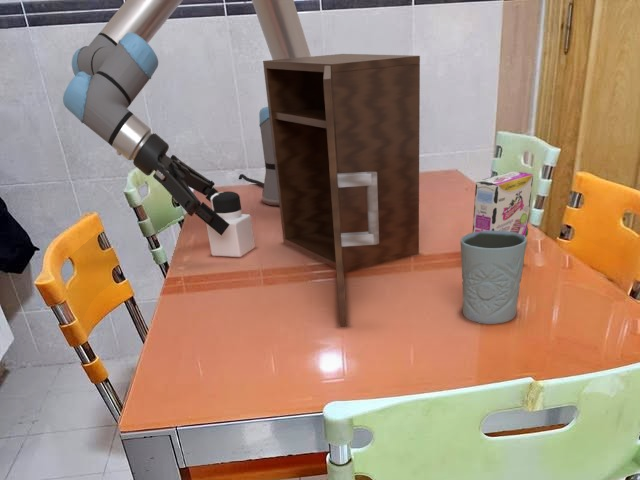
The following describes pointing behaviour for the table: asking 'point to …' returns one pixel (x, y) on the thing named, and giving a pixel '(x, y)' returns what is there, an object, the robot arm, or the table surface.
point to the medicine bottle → (230, 227)
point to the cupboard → (347, 152)
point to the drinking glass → (491, 275)
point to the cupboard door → (337, 182)
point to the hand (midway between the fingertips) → (229, 221)
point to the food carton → (503, 203)
